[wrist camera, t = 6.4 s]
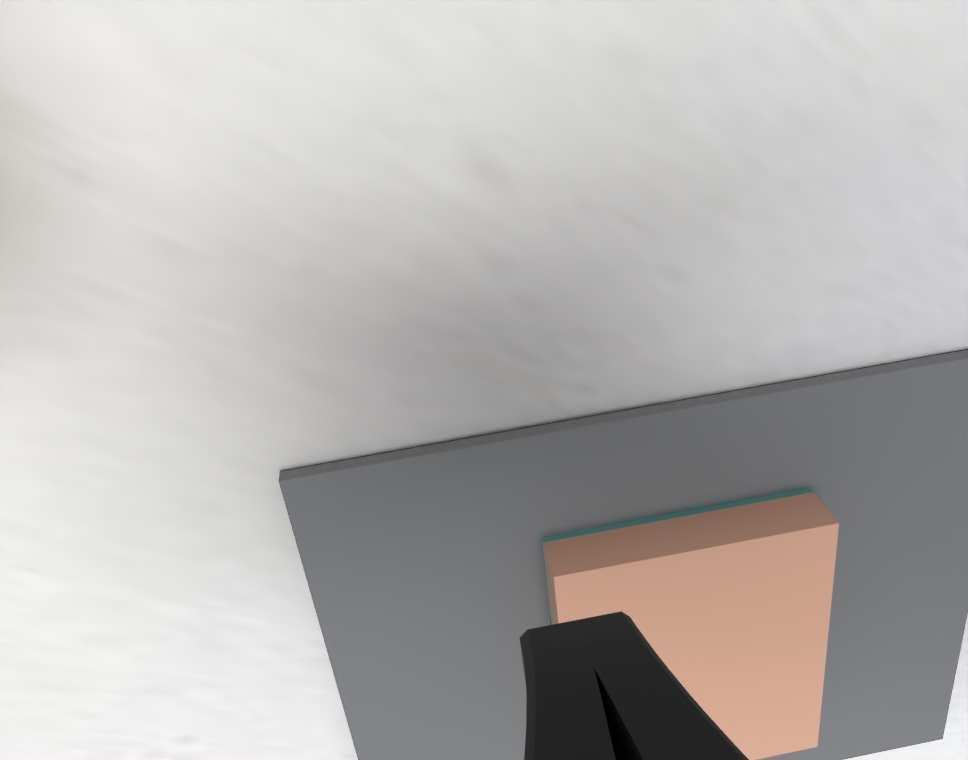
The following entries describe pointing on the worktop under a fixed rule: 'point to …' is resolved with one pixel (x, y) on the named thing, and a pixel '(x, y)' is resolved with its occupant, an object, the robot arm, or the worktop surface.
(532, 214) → the worktop surface
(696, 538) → the glazed tile
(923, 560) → the rubber mat
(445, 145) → the worktop surface
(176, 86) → the worktop surface
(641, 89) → the worktop surface
